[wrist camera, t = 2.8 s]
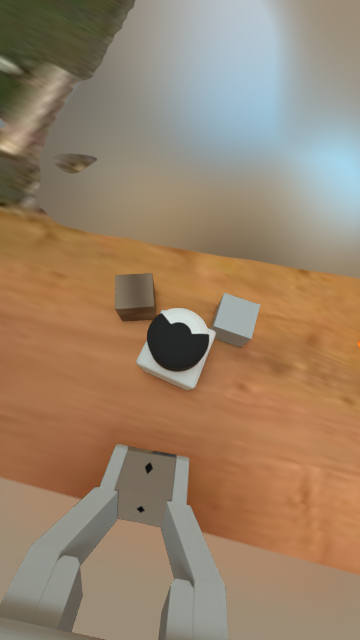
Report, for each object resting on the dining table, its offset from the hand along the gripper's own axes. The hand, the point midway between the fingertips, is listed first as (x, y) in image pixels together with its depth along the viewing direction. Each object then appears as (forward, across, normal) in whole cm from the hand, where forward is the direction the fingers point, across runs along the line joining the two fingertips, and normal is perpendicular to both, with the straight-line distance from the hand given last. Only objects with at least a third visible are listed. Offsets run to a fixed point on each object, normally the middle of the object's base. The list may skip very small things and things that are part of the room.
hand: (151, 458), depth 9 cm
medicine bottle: (+21, 0, +10) cm, 23 cm away
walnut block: (+26, +7, +5) cm, 28 cm away
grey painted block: (+26, -7, +5) cm, 27 cm away
